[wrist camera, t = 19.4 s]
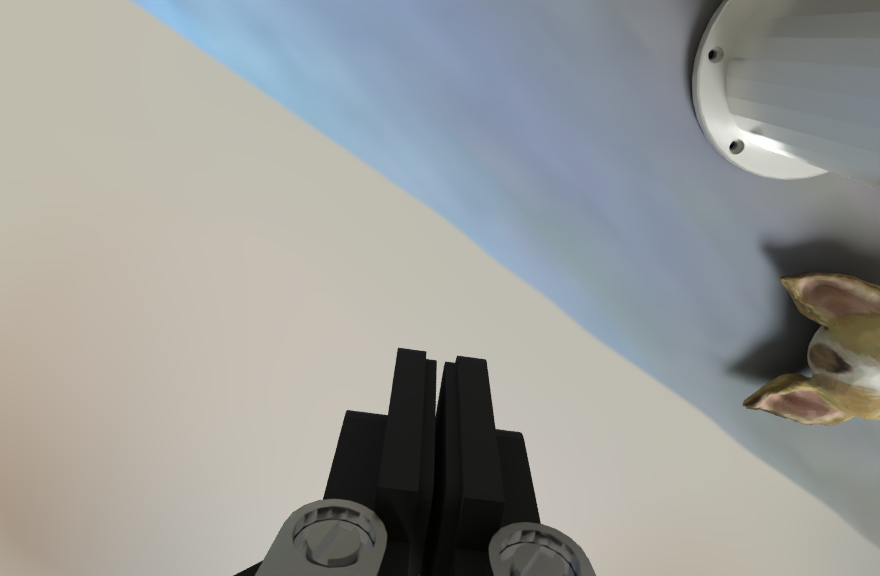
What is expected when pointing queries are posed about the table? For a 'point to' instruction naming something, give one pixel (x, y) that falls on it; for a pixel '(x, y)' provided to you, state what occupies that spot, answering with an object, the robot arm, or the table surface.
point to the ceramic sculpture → (831, 353)
